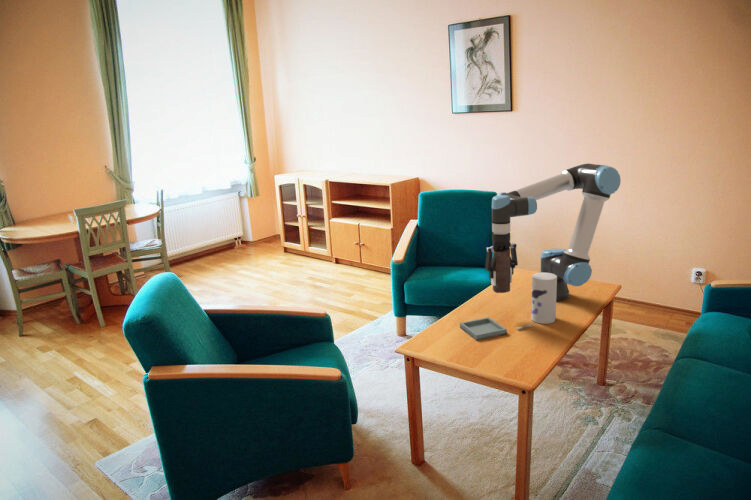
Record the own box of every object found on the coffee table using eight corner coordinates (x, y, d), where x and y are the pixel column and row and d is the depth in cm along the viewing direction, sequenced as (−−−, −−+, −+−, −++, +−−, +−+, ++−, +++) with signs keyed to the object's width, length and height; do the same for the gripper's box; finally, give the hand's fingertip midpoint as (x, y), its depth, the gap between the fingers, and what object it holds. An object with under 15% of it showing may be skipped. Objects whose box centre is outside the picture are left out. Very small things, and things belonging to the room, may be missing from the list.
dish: (488, 321, 228) (488, 317, 228) (506, 334, 215) (506, 329, 215) (459, 327, 224) (459, 322, 223) (476, 340, 211) (476, 335, 211)
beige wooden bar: (531, 326, 222) (531, 323, 222) (533, 327, 221) (533, 324, 221) (516, 330, 219) (516, 327, 219) (518, 331, 218) (518, 328, 218)
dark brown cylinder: (510, 295, 225) (510, 250, 219) (493, 295, 226) (492, 250, 221) (509, 289, 232) (509, 245, 226) (492, 289, 233) (492, 245, 228)
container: (527, 320, 227) (528, 276, 222) (537, 313, 234) (538, 270, 229) (549, 326, 220) (550, 281, 215) (559, 318, 227) (561, 274, 222)
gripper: (516, 227, 228) (516, 277, 234) (475, 233, 222) (476, 284, 228) (526, 230, 221) (526, 281, 227) (484, 237, 215) (485, 290, 222)
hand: (501, 283), depth 228 cm, fingers closed on dark brown cylinder, 7 cm apart
